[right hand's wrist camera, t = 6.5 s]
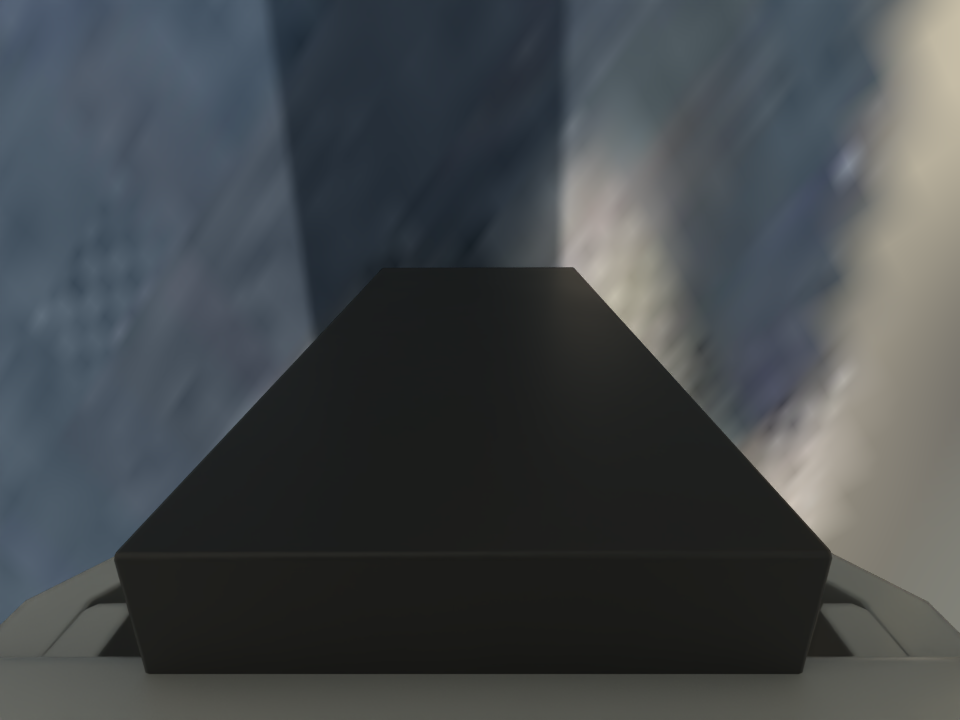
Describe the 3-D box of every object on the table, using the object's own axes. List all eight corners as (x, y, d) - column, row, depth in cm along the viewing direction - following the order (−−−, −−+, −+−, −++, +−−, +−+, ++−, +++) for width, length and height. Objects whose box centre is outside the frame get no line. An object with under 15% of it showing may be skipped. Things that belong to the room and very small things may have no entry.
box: (382, 267, 17) (108, 556, 4) (574, 267, 17) (837, 553, 4) (412, 750, 24) (341, 1374, 11) (547, 750, 24) (619, 1374, 11)
